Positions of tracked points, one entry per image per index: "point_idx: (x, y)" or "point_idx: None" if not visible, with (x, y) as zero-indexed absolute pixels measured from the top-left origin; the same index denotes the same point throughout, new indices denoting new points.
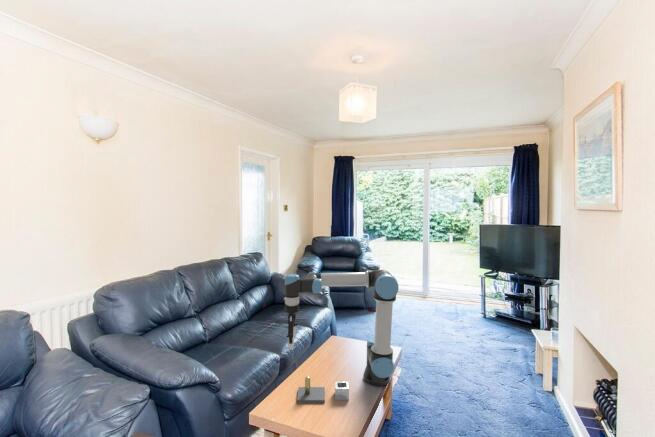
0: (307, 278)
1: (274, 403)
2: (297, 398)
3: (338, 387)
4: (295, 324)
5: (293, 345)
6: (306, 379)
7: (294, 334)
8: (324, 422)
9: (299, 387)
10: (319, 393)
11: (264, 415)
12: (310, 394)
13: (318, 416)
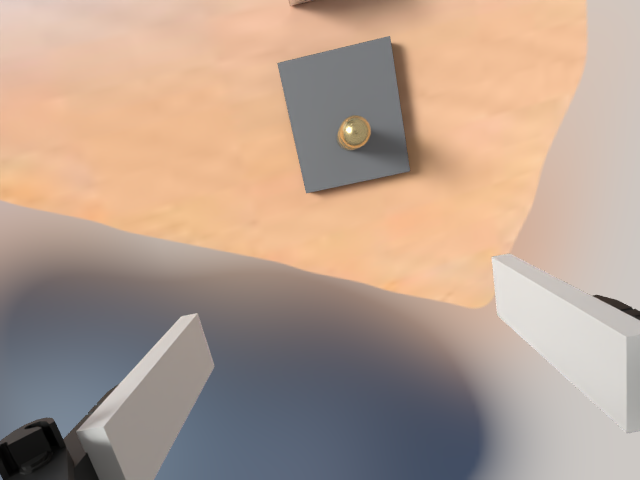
0: None
1: (420, 262)
2: (398, 173)
3: None
4: (34, 471)
5: (533, 269)
6: (369, 134)
7: (179, 354)
8: (526, 11)
9: (309, 189)
10: (339, 77)
11: None
12: None
13: (487, 49)
